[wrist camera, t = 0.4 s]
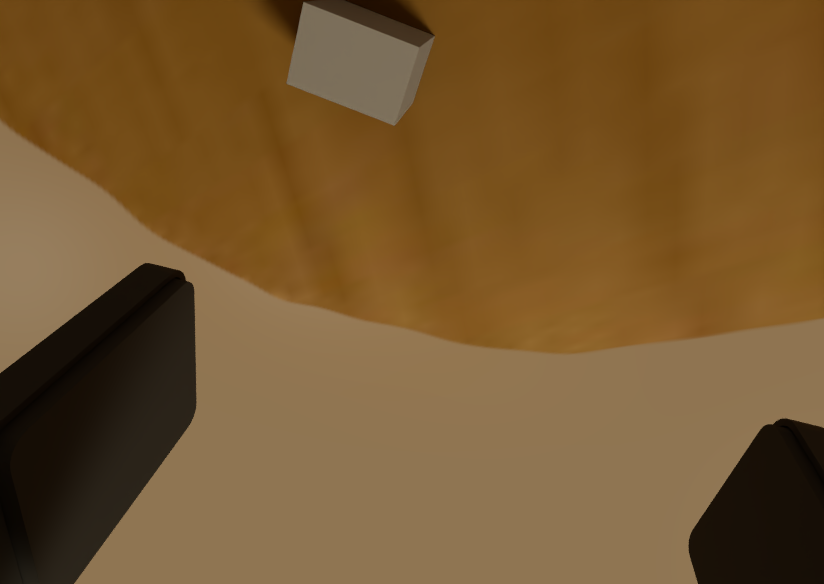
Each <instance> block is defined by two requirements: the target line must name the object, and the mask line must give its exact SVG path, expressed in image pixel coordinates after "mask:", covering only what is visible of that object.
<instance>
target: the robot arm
mask: <svg viewBox="0 0 824 584" xmlns="http://www.w3.org/2000/svg"><path fill="white" fill-rule="evenodd" d="M194 307H195V306H194V287H193V285H192V283H190V282H187V281H186V280H185V276H184V274H183V273H182V272H181V271H179V270H175V269H171V268H167V267H163V266H159V265H155V264H150V263H145V264H143V265H141V266H139V267H138V268H137V269H135V270H134V271H133V272H131V273H130V274H129V275H128V276H126V277H125V278H124V279H122V280H121V281H120V282H119V283H117V284H116V285H115V286H113V287H112V288H111V289H109V290H108V291H107V292H105V293H104V294H103V295H101V296H100V297H99V298H98V299H96V300H95V301H94V302H92V303H91V304H90V305H88V306H87V307H86V308H85V309H83V310H82V311H81V312H79V313H78V314H77V315H75V316H74V317H73V318H72V319H70V320H69V321H68V322H66V323H65V324H64V325H62V326H61V327H60V328H59V329H57V330H56V331H55V332H53V333H52V334H51V335H49V336H48V337H47V338H46V339H44V340H43V341H42V342H40V343H39V344H38V345H36V346H35V347H34V348H33V349H31V350H30V351H29V352H27V353H26V354H25V355H23V356H22V357H21V358H20V359H18V360H17V361H16V362H15V363H13V364H12V365H10V366H9V367H8V368H7V369H5V370H4V371H3V372H1V373H0V584H74V583H75V582H76V580H77V579H78V577H79V576H80V575H81V573H82V572H83V571H84V569H85V568H86V566H87V565H88V564H89V562H90V561H91V560H92V558H93V557H94V555H95V554H96V552H97V551H98V550H99V549H100V547H101V546H102V545H103V543H104V542H105V540H106V539H107V538H108V536H109V535H110V534H111V532H112V531H113V529H114V528H115V527H116V525H117V524H118V523H119V521H120V520H121V518H122V517H123V515H124V514H125V513H126V512H127V510H128V509H129V507H130V506H131V505H132V503H133V502H134V501H135V499H136V498H137V496H138V495H139V494H140V492H141V491H142V490H143V488H144V487H145V486H146V484H147V483H148V481H149V480H150V479H151V477H152V476H153V475H154V473H155V472H156V470H157V469H158V468H159V466H160V465H161V464H162V462H163V461H164V459H165V458H166V457H167V455H168V454H169V453H170V451H171V450H172V448H173V447H174V446H175V444H176V443H177V442H178V440H179V439H180V437H181V436H182V435H183V433H184V432H185V431H186V429H187V428H188V426H189V425H190V423H191V421H192V419H193V417H194V413H195V410H196V362H195V360H196V359H195V309H194ZM689 554H690V558H691V562H692V565H693V568H694V571H695V575H696V578H697V581H698V584H824V428H822V427H819V426H814V425H811V424H806V423H802V422H799V421H794V420H790V419H780V420H778V421H776V422H775V423H774V424H773V425H772V424H768V425H765V426H764V427H763V428H762V429H761V430H760V431H759V433H758V434H757V436H756V437H755V439H754V440H753V441H752V443H751V445H750V446H749V448H748V449H747V450H746V452H745V453H744V455H743V456H742V458H741V459H740V461H739V462H738V464H737V465H736V467H735V468H734V470H733V471H732V473H731V474H730V476H729V477H728V479H727V480H726V481H725V483H724V484H723V486H722V487H721V489H720V490H719V492H718V494H717V495H716V496H715V498H714V499H713V501H712V502H711V504H710V505H709V507H708V508H707V510H706V511H705V513H704V514H703V515H702V517H701V518H700V520H699V522H698V523H697V524H696V526H695V527H694V529H693V530H692V532H691V535H690V539H689Z"/></svg>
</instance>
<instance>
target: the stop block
mask: <svg viewBox="0 0 824 584" xmlns="http://www.w3.org/2000/svg"><path fill="white" fill-rule="evenodd" d="M434 37H435V36H434V35H431V34H429V33H426V32H424V31H421V30H419V29H416V28H414V27H411V26H408V25H406V24H403V23H401V22H398V21H396V20H393V19H391V18H388V17H386V16H383V15H380V14H378V13H375V12H373V11H370V10H368V9H365V8H363V7H360V6H357V5H355V4H352V3H350V2H347V1H345V0H315V1H307V2H303V7H302V12H301V16H300V21H299V26H298V31H297V36H296V40H295V45H294V50H293V55H292V60H291V65H290V69H289V74H288V79H287V84H289V85H291V86H294V87H296V88H299V89H301V90H304V91H307V92H309V93H312V94H314V95H317V96H319V97H322V98H325V99H327V100H330V101H332V102H335V103H338V104H340V105H343V106H345V107H348V108H350V109H353V110H356V111H358V112H361V113H363V114H366V115H369V116H371V117H374V118H376V119H379V120H381V121H384V122H387V123H389V124H392V125H394V126H395V124H396V123H397V122H398V121H399V120H400V118H401V117H402V116H403V115H404V113H405V112H406V111H407V110H408V108H409V107H410V106H411V105H412V103H413V101H414V98H415V95H416V92H417V88H418V85H419V82H420V79H421V76H422V73H423V70H424V67H425V64H426V61H427V58H428V55H429V52H430V49H431V46H432V43H433V40H434Z"/></svg>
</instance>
